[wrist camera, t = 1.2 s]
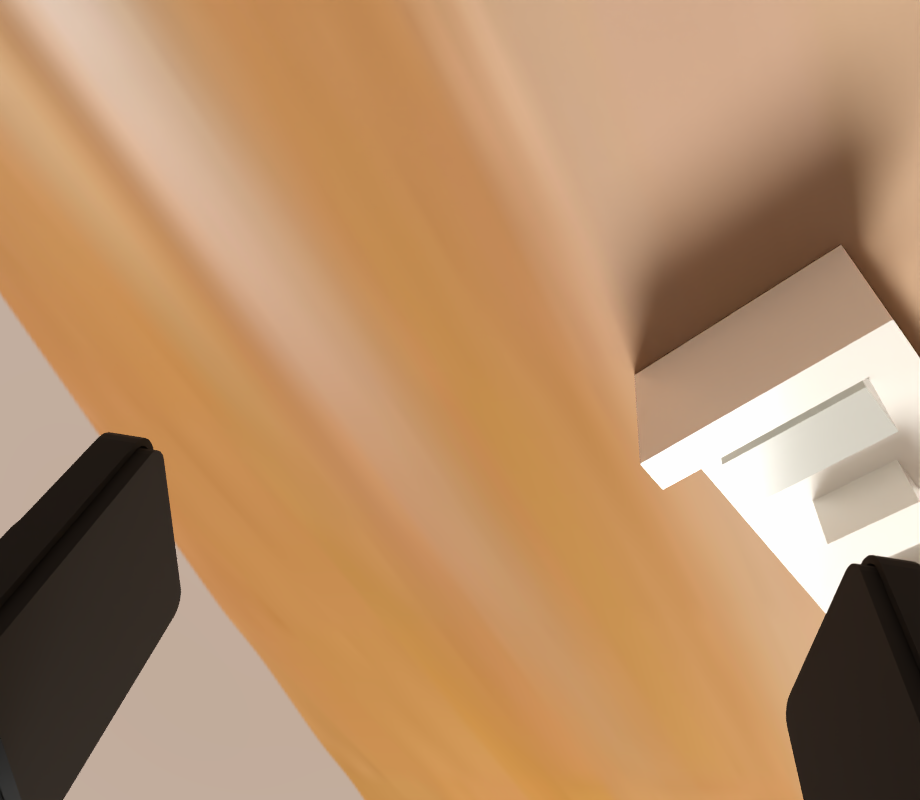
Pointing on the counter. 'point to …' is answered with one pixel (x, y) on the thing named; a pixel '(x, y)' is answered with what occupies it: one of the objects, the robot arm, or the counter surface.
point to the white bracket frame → (798, 422)
